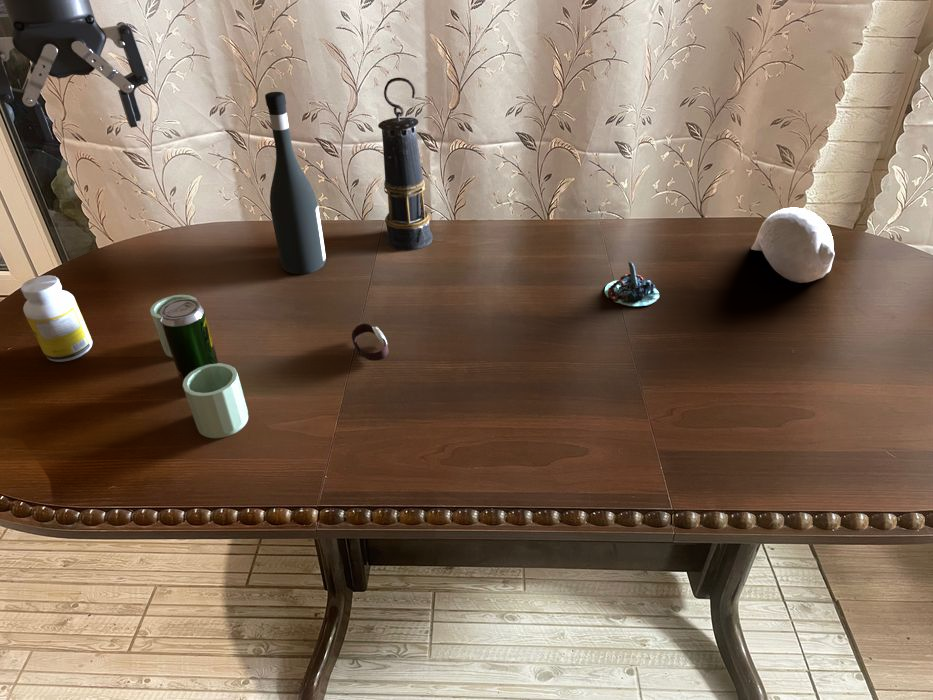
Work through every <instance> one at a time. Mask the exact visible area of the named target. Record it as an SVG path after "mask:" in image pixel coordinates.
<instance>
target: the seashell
mask: <svg viewBox="0 0 933 700" xmlns="http://www.w3.org/2000/svg"><path fill="white" fill-rule="evenodd" d="M750 249H751V250H753V251H761V252H762V253H763V255H764V257H765V259H766V261H767V262H768V263H769V265H770V266H771V268H772V269H773V270H774V271H775V272H776V273H777V274H779V275H780V276H782V278H784V279H787V281H790V282H794V283H800V284H802V283H810V282H814V281H817V280H819V279H822V278H824V277H825V276H826V274H828V273H830V271H831V269H832V265H833V262H834V258H835V250H834V239H833V236H832V232H831V229H830V227H829V226H828V225H827V223H826V222H825V220H823V218H821V217H820V216H818V215H817V214H816V213H815V212H812V211H810V210H807V209H806V208H801V207H800V208H799V207H787V208H781V209H780V210H777V211H775V212H773V213H771V214H770V215H769V216H768V217H767V218H766V219H765V220H764V222H763V223H762V224H761V225H760V227H759V231H758V233H757V235H756V239H755V241H754V243H753V245H752V246H751V247H750Z"/></svg>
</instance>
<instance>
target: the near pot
mask: <svg viewBox="0 0 933 700" xmlns="http://www.w3.org/2000/svg"><path fill="white" fill-rule="evenodd" d="M182 389H183V392H184V395H185V397H186V400H187V404H188V406H189V409H190V412H191V415H192V418H193V421H194V424H195V427H196V430H197V431H198V433H199V434H200V435H201V436H203V437H205V438H210V439H221V438H222V439H223V438H226V437H230V436H232V435H234V434H237V433H238V432H240V431H241V430H242V429H243V428H244V427H245V426H246V425H247V423H248V421H249V411H248V407H247V403H246V400H245V395H244V392H243V388H242V384H241V381H240V377H239V374H238V371H237V370H236V368H235V367H234V366H232V365H230V364H226V363H220V362H219V363H217V364H209V365H205V366H202V367H199V368H197V369H195V370H194V371H192V372H190V373H189V374H188V375H187V376H186V377H185V379H184V382H183V384H182Z"/></svg>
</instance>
